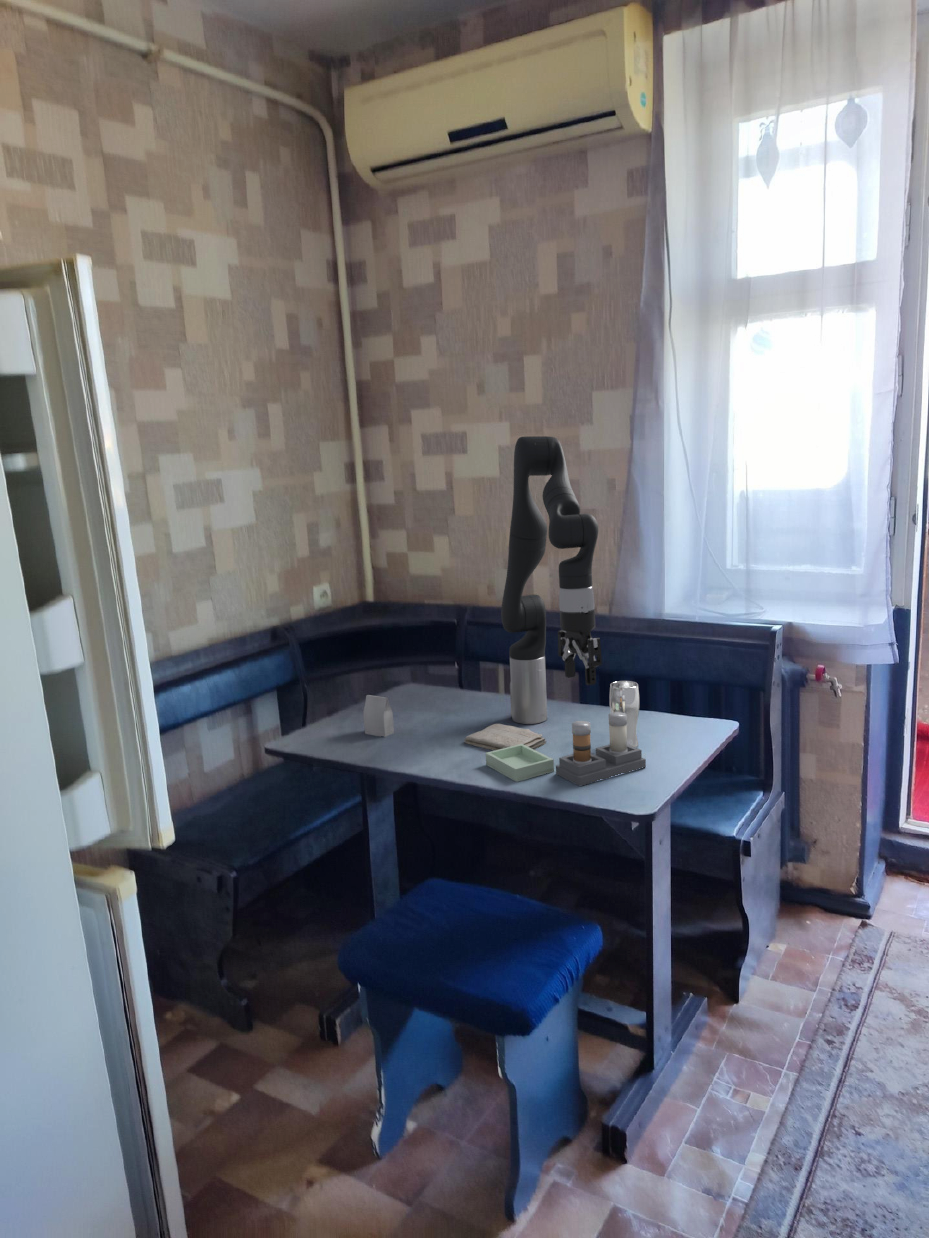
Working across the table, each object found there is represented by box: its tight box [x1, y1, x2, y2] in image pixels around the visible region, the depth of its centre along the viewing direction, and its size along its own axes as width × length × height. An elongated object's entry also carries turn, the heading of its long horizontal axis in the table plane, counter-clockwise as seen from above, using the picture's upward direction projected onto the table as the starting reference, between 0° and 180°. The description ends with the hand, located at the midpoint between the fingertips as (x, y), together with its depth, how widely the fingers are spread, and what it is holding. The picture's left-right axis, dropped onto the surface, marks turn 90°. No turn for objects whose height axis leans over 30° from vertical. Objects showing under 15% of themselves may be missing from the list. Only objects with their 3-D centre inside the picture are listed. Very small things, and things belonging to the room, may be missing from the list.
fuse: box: [608, 712, 628, 755], centre depth 202 cm, size 4×4×10 cm
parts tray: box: [485, 744, 555, 782], centre depth 206 cm, size 13×10×3 cm
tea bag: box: [362, 694, 395, 738], centre depth 235 cm, size 4×7×10 cm, turn 56°
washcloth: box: [464, 723, 547, 751], centre depth 223 cm, size 12×18×3 cm, turn 48°
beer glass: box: [609, 680, 640, 748], centre depth 216 cm, size 7×7×15 cm
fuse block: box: [555, 743, 647, 786], centre depth 201 cm, size 9×18×4 cm, turn 119°
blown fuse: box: [571, 720, 592, 765], centre depth 198 cm, size 4×4×10 cm
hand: (580, 680), depth 198 cm, fingers open, 8 cm apart
